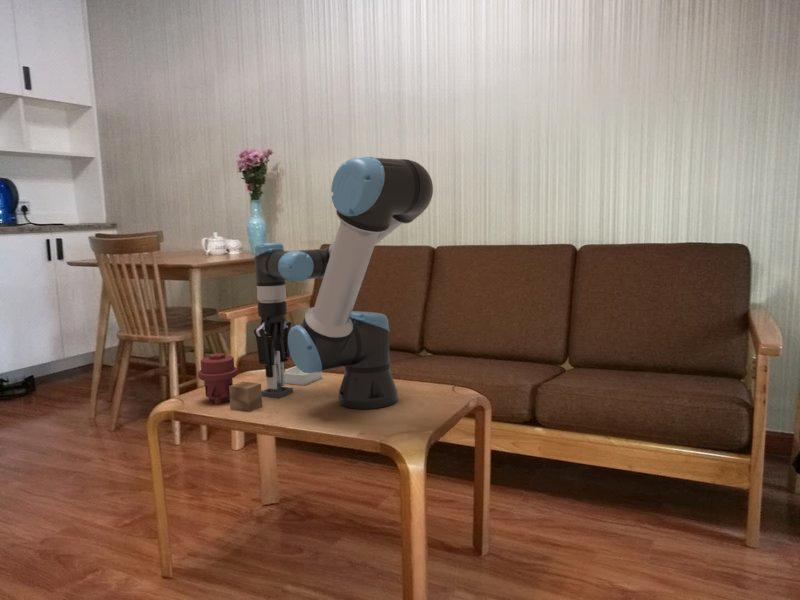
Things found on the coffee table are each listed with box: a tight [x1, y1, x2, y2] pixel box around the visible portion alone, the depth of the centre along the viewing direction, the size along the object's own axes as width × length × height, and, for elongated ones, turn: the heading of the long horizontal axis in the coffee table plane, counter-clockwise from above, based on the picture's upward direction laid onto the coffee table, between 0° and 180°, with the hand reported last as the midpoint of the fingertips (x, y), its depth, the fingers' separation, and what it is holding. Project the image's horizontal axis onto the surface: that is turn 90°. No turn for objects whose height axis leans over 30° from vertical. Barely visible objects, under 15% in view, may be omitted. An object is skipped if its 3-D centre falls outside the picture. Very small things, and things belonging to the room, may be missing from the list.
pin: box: [269, 349, 283, 393], centre depth 169 cm, size 3×3×12 cm
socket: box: [261, 386, 294, 399], centre depth 169 cm, size 6×6×1 cm
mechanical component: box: [197, 352, 239, 405], centre depth 164 cm, size 12×10×10 cm
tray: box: [284, 365, 323, 387], centre depth 183 cm, size 9×9×3 cm
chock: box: [229, 381, 263, 413], centre depth 157 cm, size 6×5×6 cm
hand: (276, 386), depth 169 cm, fingers closed on pin, 3 cm apart
